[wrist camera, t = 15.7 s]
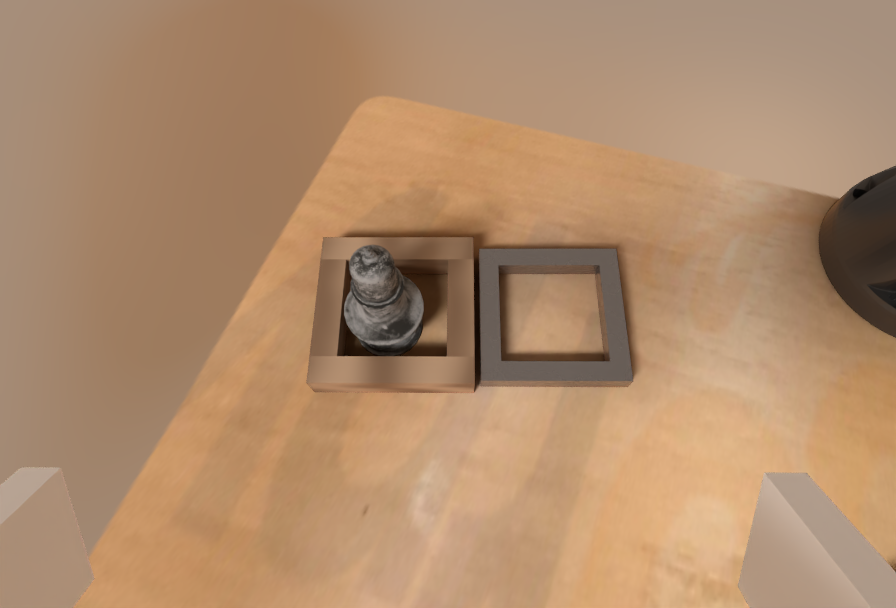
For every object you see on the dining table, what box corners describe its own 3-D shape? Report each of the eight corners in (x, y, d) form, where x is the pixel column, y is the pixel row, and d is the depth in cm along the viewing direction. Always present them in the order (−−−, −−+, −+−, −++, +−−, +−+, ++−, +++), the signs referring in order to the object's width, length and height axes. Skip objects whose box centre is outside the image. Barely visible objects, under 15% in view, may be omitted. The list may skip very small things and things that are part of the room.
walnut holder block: (472, 252, 47) (473, 237, 45) (474, 392, 42) (474, 383, 40) (329, 252, 47) (323, 237, 45) (314, 392, 42) (306, 382, 40)
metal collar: (611, 257, 47) (616, 248, 45) (627, 386, 42) (633, 381, 41) (478, 257, 47) (479, 248, 46) (480, 386, 42) (481, 380, 41)
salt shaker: (369, 282, 46) (343, 197, 35) (437, 305, 45) (431, 225, 34) (339, 346, 44) (301, 277, 33) (409, 371, 43) (394, 308, 32)
